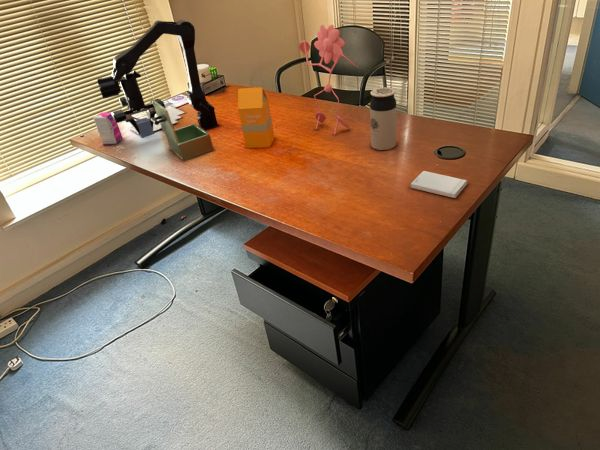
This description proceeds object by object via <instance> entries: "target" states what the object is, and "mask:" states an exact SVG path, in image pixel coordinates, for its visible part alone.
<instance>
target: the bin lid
mask: <svg viewBox="0 0 600 450" xmlns="http://www.w3.org/2000/svg"><path fill="white" fill-rule="evenodd" d="M152 100H153V101H152V103H153V105H154V108H155V111H156V113H157V116H158V117H156V118H153V117H152V118H151V121H152V122H153V123H154V124H155V125H159V123H160V124H161V126H162V128H161V130H162V132H163V133H164V134H165V136H166V135H167V136H169V137H170V138H171V139H172V140H173V141H174V142H175V143H177V144H178V143H179V141H178V138H177V136H176V133H175V130H176V129H175V127H174V124H172V122H171V119H170V116H169V114H168V111H167V109H165V108H166V107H165V108H164V107H163V106H161V105H160V104H159V103H157V102H156V101H154V100H155V99H152ZM158 119H159V121H157V120H158Z"/></svg>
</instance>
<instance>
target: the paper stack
mask: <svg viewBox="0 0 600 450" xmlns="http://www.w3.org/2000/svg"><path fill="white" fill-rule="evenodd" d="M165 109H167V111H168V114H169V116H170V119H171V122H172V125H174V124H177V123H178V122H179V121H178V120H179V119H182V116H180V115H182V114H186V111H183V110H180V109H178V108H176V107H174V106H169V107H165ZM156 117H158V116H157V113H156V114H155V117H154V118H156ZM142 118H147V119H148V116H147V114H146V115H143V116H140V117H138V118H137V120H139V119H142ZM157 121H159V119H158V120H157ZM128 129H129V130H130V131H132V132H133V133H135V134H138V135H139V133H138V132H137V131H136V129H135V128H134V127H133V125H132V126H130V127H128ZM160 129H161V130H162V126H161V124H160V123H159V125H155V124H154V123H153V132H155V131H158V130H160Z"/></svg>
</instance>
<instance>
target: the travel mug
mask: <svg viewBox="0 0 600 450" xmlns="http://www.w3.org/2000/svg"><path fill="white" fill-rule="evenodd" d="M395 94H396V89H394V88H392V87H385V86H384V87H377V88H374V89H372V90H371V91H370V95H371V99H370V102H369V113H370V114H369V115H370V116H369V117H370V118H369V119H370V144H371V147H372V148H373V149H375V150H377V151H387V150H388V151H389V150H392V149H393V148H395V147H396V146H397V99H396V97H395Z"/></svg>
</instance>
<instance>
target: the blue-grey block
mask: <svg viewBox="0 0 600 450" xmlns="http://www.w3.org/2000/svg"><path fill="white" fill-rule="evenodd" d="M135 122H136V124H137V126H138V128H139V131H140V134H138V135H139V136H140V137H141V138H142V139H144V138H147V137H151V136H153V135H155V133H154V132H155V131H153V129H152V126H151V123H150V120H149V119H147V118H142V119H135Z"/></svg>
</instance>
